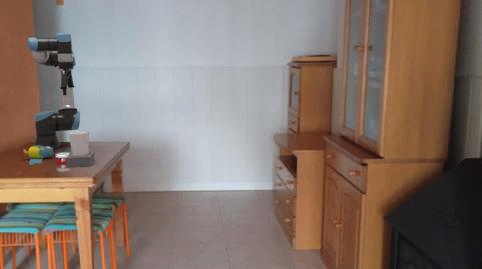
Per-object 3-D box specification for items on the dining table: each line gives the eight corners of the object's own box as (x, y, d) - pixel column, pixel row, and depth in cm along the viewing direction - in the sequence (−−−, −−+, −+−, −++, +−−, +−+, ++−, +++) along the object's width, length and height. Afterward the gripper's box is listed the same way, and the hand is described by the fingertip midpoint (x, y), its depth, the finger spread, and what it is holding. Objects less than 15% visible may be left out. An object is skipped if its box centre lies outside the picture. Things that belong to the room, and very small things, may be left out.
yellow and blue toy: (25, 141, 262) (53, 140, 267) (26, 155, 264) (54, 154, 269) (20, 150, 236) (51, 148, 242) (21, 166, 238) (52, 164, 243)
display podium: (71, 162, 244) (71, 153, 243) (94, 161, 245) (93, 152, 245) (66, 167, 232) (65, 157, 231) (90, 166, 234) (90, 156, 233)
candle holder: (78, 157, 231) (77, 134, 229) (66, 155, 237) (64, 133, 235) (94, 154, 239) (92, 132, 238) (82, 152, 245) (80, 130, 243)
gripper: (67, 61, 236) (70, 101, 239) (77, 61, 260) (79, 98, 263) (52, 61, 234) (55, 102, 238) (63, 61, 259) (66, 98, 262)
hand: (68, 100), depth 251 cm, fingers open, 13 cm apart
